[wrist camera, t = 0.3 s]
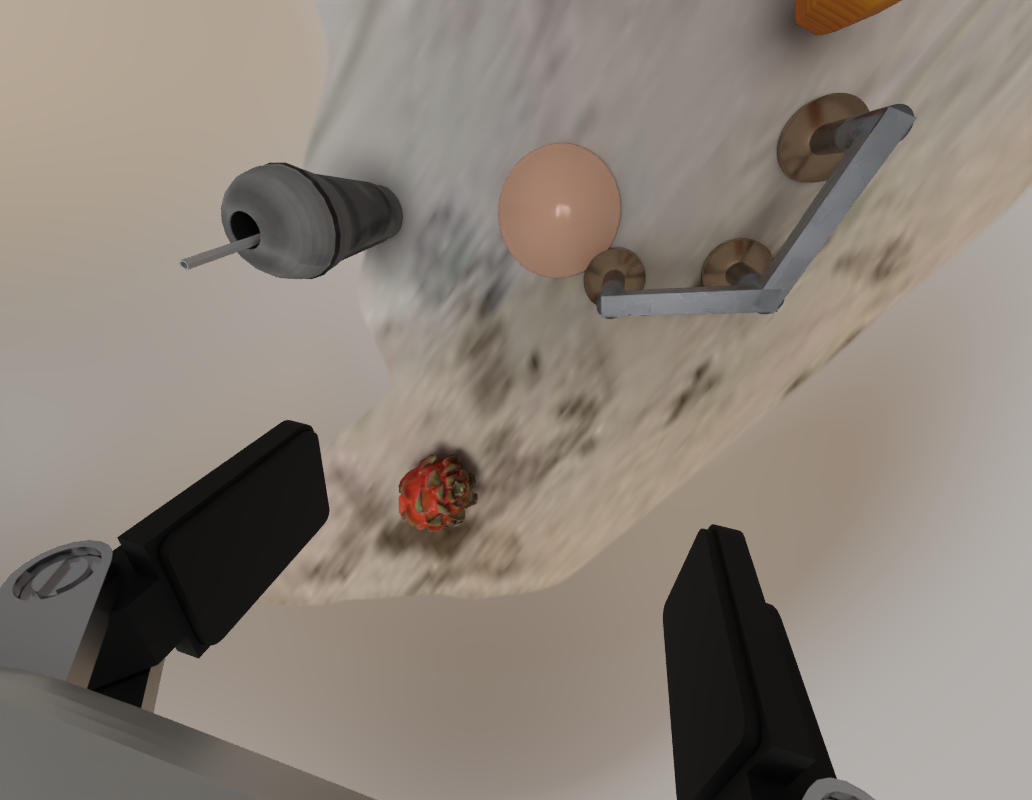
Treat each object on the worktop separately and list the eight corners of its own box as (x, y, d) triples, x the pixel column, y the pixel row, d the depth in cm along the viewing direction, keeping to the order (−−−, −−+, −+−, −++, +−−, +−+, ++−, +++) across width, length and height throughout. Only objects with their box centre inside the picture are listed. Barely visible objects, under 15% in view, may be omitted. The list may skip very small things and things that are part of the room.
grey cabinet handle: (845, 76, 26) (938, 32, 18) (902, 212, 29) (1006, 225, 21) (573, 271, 36) (558, 296, 28) (634, 361, 38) (635, 408, 30)
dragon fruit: (483, 438, 49) (445, 486, 56) (413, 431, 44) (382, 484, 52) (498, 505, 44) (454, 547, 51) (420, 505, 39) (385, 551, 47)
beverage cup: (404, 159, 35) (189, 140, 18) (425, 249, 38) (259, 306, 21) (332, 174, 37) (77, 170, 20) (358, 258, 40) (156, 317, 23)
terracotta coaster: (574, 111, 31) (573, 110, 30) (644, 228, 33) (644, 229, 33) (477, 201, 35) (475, 202, 35) (545, 298, 38) (543, 300, 37)
